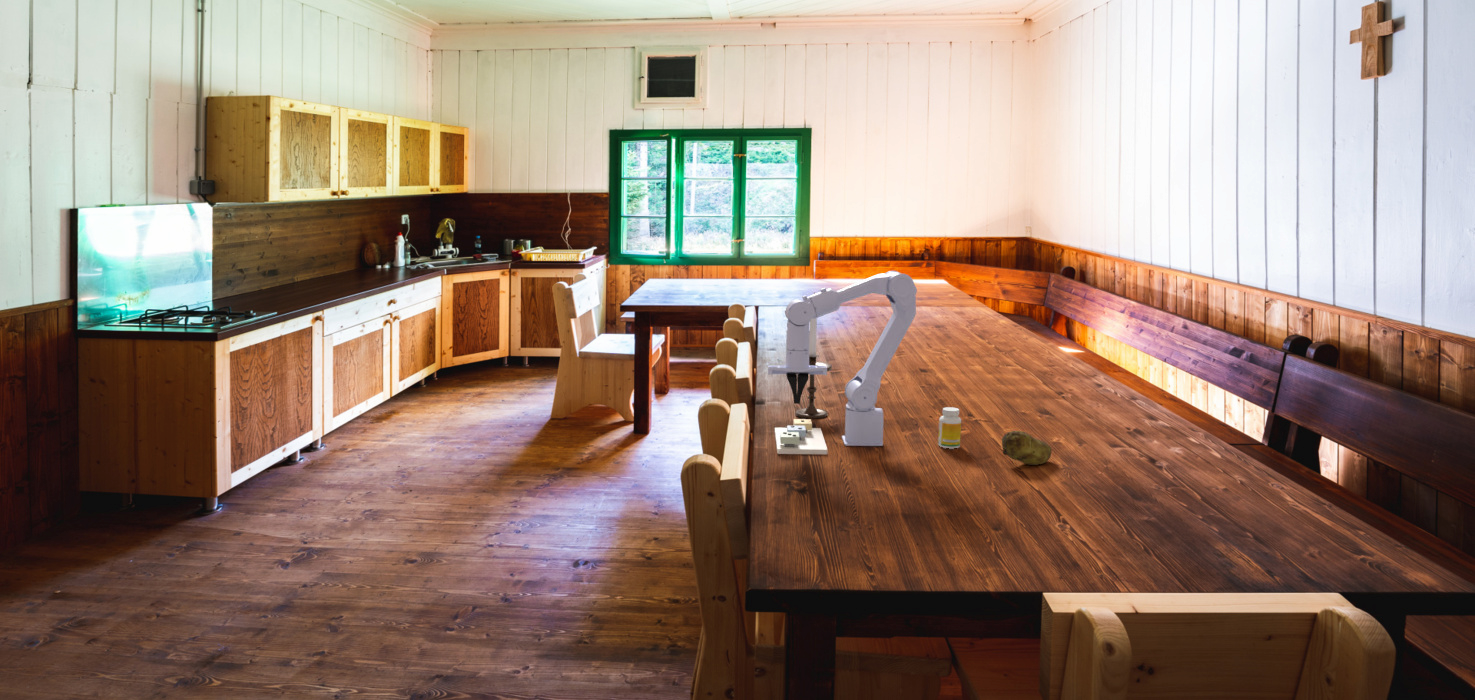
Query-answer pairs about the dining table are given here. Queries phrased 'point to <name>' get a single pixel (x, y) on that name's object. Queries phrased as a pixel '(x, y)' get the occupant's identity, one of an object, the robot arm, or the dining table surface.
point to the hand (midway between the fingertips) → (796, 402)
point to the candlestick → (811, 410)
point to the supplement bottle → (949, 428)
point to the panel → (803, 443)
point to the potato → (1025, 448)
